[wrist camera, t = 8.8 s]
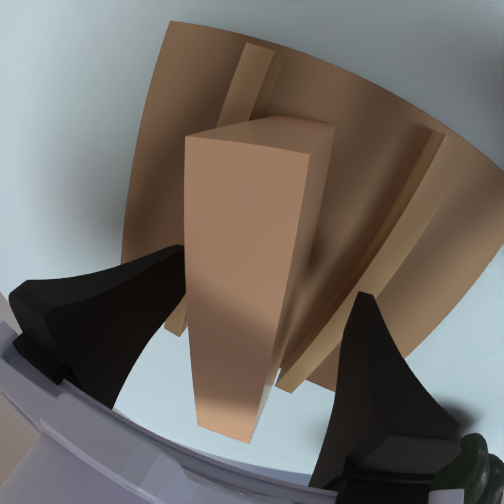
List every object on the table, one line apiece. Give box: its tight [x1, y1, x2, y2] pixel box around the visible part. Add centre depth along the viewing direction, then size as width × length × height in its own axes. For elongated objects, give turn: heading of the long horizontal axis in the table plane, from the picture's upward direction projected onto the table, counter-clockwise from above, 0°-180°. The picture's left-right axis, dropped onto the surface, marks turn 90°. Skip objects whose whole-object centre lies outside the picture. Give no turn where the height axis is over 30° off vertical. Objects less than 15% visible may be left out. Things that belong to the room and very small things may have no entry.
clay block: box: [184, 115, 335, 444], centre depth 12 cm, size 2×12×8 cm, turn 174°
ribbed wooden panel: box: [121, 21, 504, 393], centre depth 15 cm, size 20×18×3 cm
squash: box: [429, 433, 504, 504], centre depth 15 cm, size 14×15×15 cm
